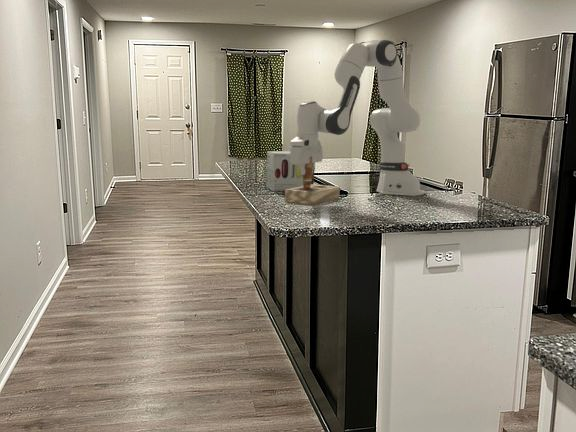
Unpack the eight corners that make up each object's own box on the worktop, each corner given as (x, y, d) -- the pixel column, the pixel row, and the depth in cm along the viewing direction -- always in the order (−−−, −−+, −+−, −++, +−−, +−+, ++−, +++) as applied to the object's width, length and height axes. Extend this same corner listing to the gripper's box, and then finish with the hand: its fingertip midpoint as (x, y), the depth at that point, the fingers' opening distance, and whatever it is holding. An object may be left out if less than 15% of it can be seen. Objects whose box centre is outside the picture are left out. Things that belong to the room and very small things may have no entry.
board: (339, 197, 258) (339, 186, 257) (313, 204, 240) (313, 192, 239) (312, 195, 266) (312, 183, 265) (285, 201, 248) (285, 189, 247)
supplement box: (272, 191, 276) (273, 153, 272) (266, 187, 288) (266, 151, 285) (307, 190, 280) (308, 152, 277) (300, 186, 293) (300, 150, 290)
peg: (313, 189, 249) (314, 156, 246) (308, 190, 245) (308, 157, 243) (305, 188, 251) (305, 155, 248) (299, 189, 248) (300, 156, 245)
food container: (293, 182, 309) (293, 163, 307) (304, 181, 311) (304, 163, 309) (304, 185, 298) (304, 165, 296) (314, 184, 300) (315, 165, 298)
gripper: (314, 139, 255) (313, 171, 257) (287, 141, 238) (287, 175, 240) (326, 140, 251) (325, 172, 254) (300, 142, 234) (300, 176, 237)
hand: (307, 174), depth 247 cm, fingers closed on peg, 4 cm apart
